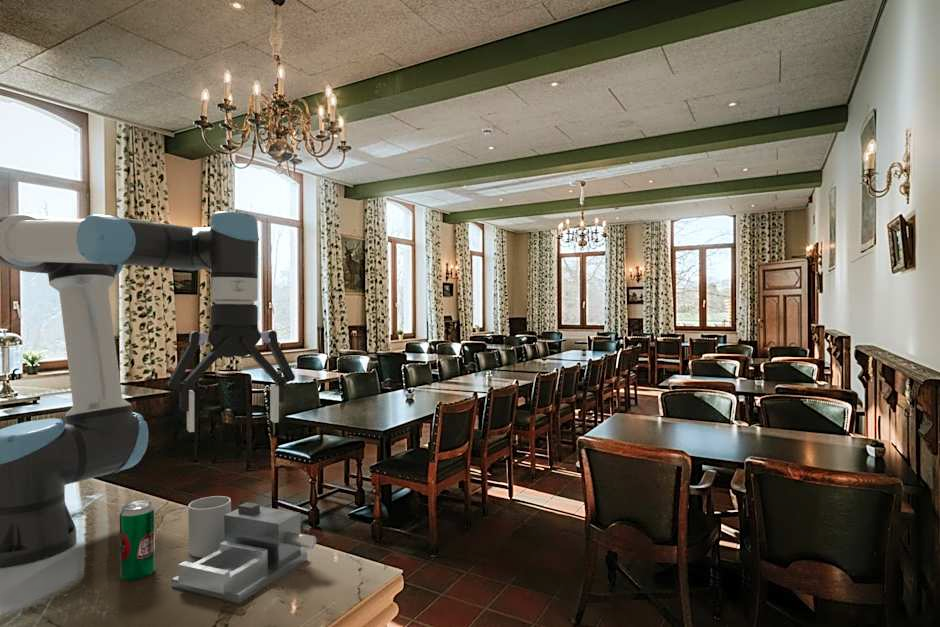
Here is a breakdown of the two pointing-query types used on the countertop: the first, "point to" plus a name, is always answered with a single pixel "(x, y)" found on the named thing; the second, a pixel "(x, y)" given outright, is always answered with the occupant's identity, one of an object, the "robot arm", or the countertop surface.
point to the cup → (207, 524)
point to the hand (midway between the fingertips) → (234, 425)
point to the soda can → (137, 540)
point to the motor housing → (248, 554)
